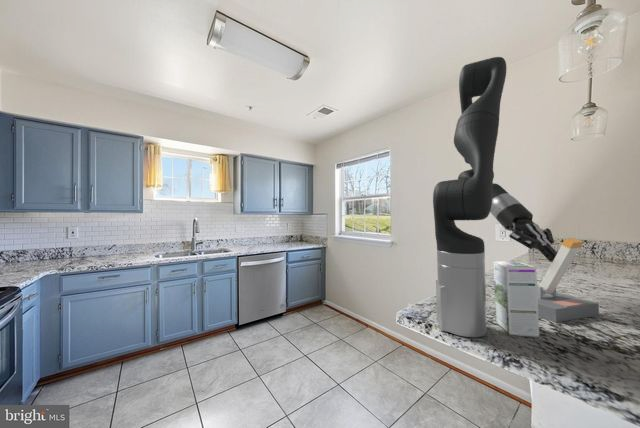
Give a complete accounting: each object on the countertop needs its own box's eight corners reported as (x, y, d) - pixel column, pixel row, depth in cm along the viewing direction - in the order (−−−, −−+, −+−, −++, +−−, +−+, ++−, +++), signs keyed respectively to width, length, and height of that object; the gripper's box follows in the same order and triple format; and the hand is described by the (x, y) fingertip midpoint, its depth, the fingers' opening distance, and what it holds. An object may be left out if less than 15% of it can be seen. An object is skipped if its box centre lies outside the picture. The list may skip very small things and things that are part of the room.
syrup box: (540, 337, 49) (539, 266, 49) (508, 335, 50) (506, 265, 50) (523, 324, 54) (521, 261, 54) (493, 323, 55) (492, 260, 55)
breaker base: (498, 301, 69) (497, 280, 69) (535, 296, 72) (535, 276, 72) (555, 322, 55) (555, 296, 55) (598, 315, 58) (598, 290, 58)
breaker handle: (535, 290, 64) (564, 238, 58) (545, 289, 65) (575, 238, 58) (542, 295, 62) (573, 242, 56) (552, 294, 63) (583, 242, 57)
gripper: (499, 202, 68) (549, 252, 56) (534, 202, 71) (588, 249, 59) (482, 220, 73) (525, 269, 62) (516, 219, 76) (562, 266, 65)
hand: (556, 259), depth 61 cm, fingers closed
